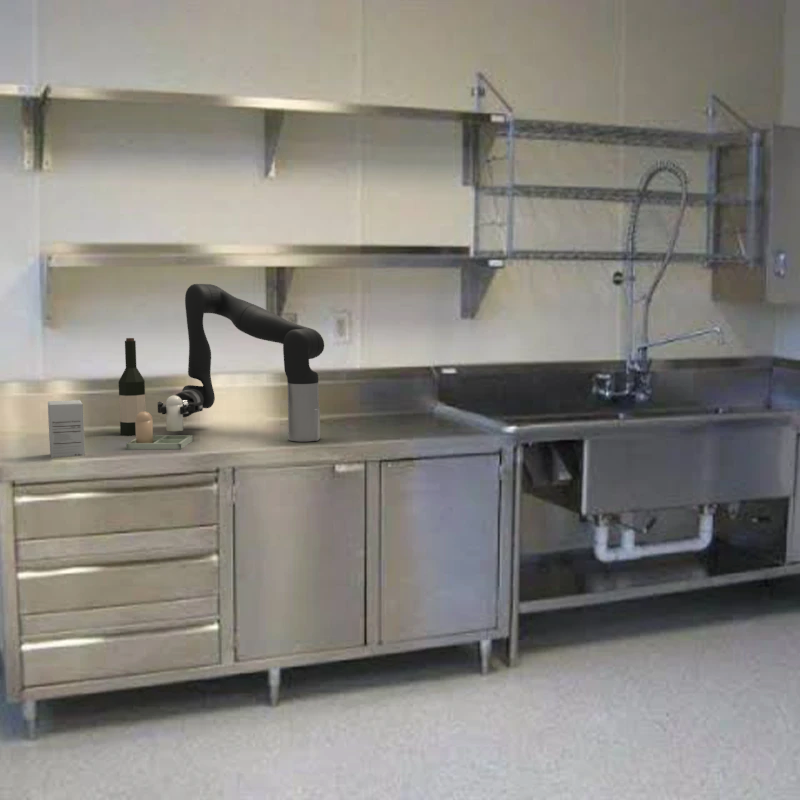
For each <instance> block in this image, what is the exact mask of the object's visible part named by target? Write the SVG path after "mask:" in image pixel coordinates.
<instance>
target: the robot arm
mask: <svg viewBox="0 0 800 800" xmlns="http://www.w3.org/2000/svg"><path fill="white" fill-rule="evenodd" d="M184 305H185V316H186V325H187V326H186V327H187V335H188V365H187V366H188V367H187V370H188V371H187V374H188V376H189V378H192V379H194V380H198V381H199V382H200V383H201V384H202V385H195V384H192V385H191V384H189V385H188V384H187V385H185V386H183V388H182V390H181V391H180V392H178V393H176V394H175V395H176V396H178V397H180V398H181V399H182V402H183V406H181V407H180V414H183V418H188V417H190V416H191V415H193V414H195V413H199V412H203V411H204V410H203V409H209V408H211V407H212V406H213V405H214V403H215V397H216V396H215V390H214V387H213V384H212V378H211V377H212V376H211V370H212V369H211V367H212V366H211V365H212V351H211V346H210V343H209V341H208V338H207V336H206V333H205V329H204V315H205V314H214V315H218V316H222V317H224V318H226V319H228V320H230V321H231V323H232V324H233V325H234V327H235V328H236V329H238V331H240V332H242V333H244V334H247V335H249V336H250V337H253V338H256V339H260V340H261V341H263V340H264V341H268V342H273V343H276V344H277V343H278V344H282V347H283V348H282V352H283V353H282V355H283V366H284V373H285V376H286V381H287V382H286V383H287V422H288V423H287V424H288V425H287V430H288V432H287V433H288V434H287V435H288V441H291V442H315V441H316V442H318V441H319V440H320V438H321V409H320V403H319V401H320V400H319V397H320V395H319V391H320V390H319V374H318V373H317V372H316V371H314V370H313V369H312V368H311V367H310V366H311V365H310V360H313V359H315V358H317V357H319V356H321V354H322V353H323V352H324V349H325V342H324V338H323V336H322V335H321V334H320V332H319V331H317V330H316V329H314V328H311V327H307V326H304V325H300V324H298V323H295V322H292V321H290V320H287V319H286V318H283V317H282V316H280V315H277V314H275V313H273V312H271V311H269V310H267V309H265V308H263V307H260V306H258V305H256V304H254V303H251V302H248V301H246V300H243V299H241V298H238V297H236V296H234V295H232V294H230V293H229V292H227V291H226V290H224V289H222V288H221V287H219V286H217V285H215V284H210V283H193V284H191V285H190V286H188V288H187V289H186V292H185V298H184ZM157 413H158V414H161V415H166V403H164V402H161V401H158V402H157Z"/></svg>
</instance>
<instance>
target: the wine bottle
mask: <svg viewBox="0 0 800 800" xmlns="http://www.w3.org/2000/svg"><path fill="white" fill-rule="evenodd" d="M136 343H137V342H136V340H135V338H134V337H126V338H125V340H124V352H125V354H124V355H125V369H124V371H123V372H122V374H121V377H120V378H119V379H118V399H119V400H118V401H119V402H118V404H119V405H118V407H119V427H120V428H119V429H120V434H119V435H120V436H124V437H126V436H127V437H133V436H132V435H136V427H135V418H136V415H137V414H138V413H140V412H142V411H146V410H147V409H146V407H147V406H146V384H145V383H146V382H145V379H144V377H143V375H142V374H141V372H140V371H139V369H138V367H137V347H136V345H137V344H136ZM146 412H147V411H146Z"/></svg>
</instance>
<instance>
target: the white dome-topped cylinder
mask: <svg viewBox="0 0 800 800" xmlns="http://www.w3.org/2000/svg"><path fill="white" fill-rule="evenodd" d="M165 404H166V414H165V421H166V423H165V424H166V431H167V432H182V431H184V417H183V414H180V407H181V406H183V402H182V399H181V398H180V397H178V396H176V394H173V395H170V396H169V397H167V398H166V401H165Z"/></svg>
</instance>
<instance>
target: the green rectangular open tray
mask: <svg viewBox="0 0 800 800" xmlns="http://www.w3.org/2000/svg"><path fill="white" fill-rule="evenodd" d="M193 441H194V434H193V435H192V434H188V435H187V434H185V435H182V434H181V435H180V434H179V435H178V434H177V435H176V434H173V435H172V434H171V435H168V434H166V435H165V434H163V435H162V434H160V435H159V434H153V443H136V437H135V438H134V439H132V440H130V441H128V442H127V443H125V445H126V446H125V448H126V449H125V450H182V449H184V448H185V447H186V446H188V445H190V443H192V442H193Z"/></svg>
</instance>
